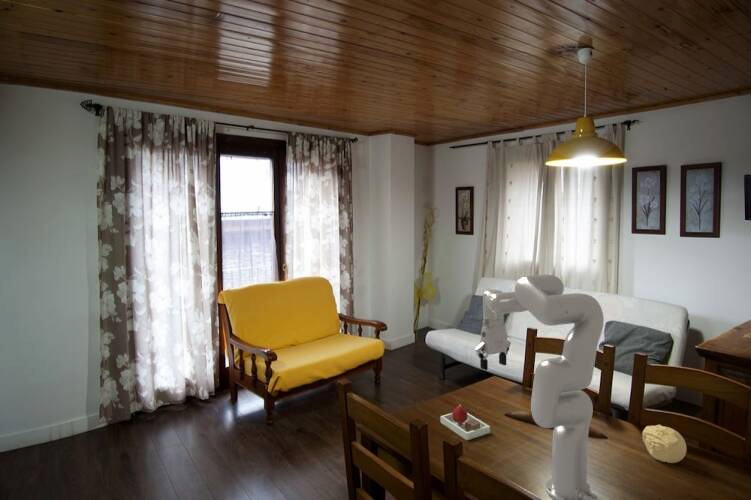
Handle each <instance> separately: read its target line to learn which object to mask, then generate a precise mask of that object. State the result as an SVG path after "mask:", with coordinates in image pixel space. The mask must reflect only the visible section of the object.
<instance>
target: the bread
mask: <svg viewBox="0 0 751 500" xmlns="http://www.w3.org/2000/svg"><path fill="white" fill-rule="evenodd" d="M504 416H506V417H509V418H511V419H515V420H518V421H522V422H525V423H530V424H535V425H538V424H537V423H536V422H535V421H534V419H533V416H532V412H531V411H527V410H526V411H525V410H515V411H509V412H508V413H507V412H505V414H504ZM552 429H554V427H553V428H552ZM588 437H595V438H600V439H608V436H607V435H605V434H604V433H602V432H601V431H599V430H598V429H596V428H595V427H592V426H591V425H590V426H589V432H588Z"/></svg>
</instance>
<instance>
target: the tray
mask: <svg viewBox="0 0 751 500" xmlns="http://www.w3.org/2000/svg"><path fill="white" fill-rule="evenodd" d="M452 413H453V412H451V413H447V414H444V415H440V417H439V418H440V423H441V424H442V425H443V426H445V427H447V428H448V429H450V430H451V431H453V432H454V433H456V434H457V435H458V436H460V437H461V438H463V439H464V440H466V441H469V440H472V439H474V438H478V437H481V436H484V435H488V434H491V426H490V425H489V424H487V423H485V422H483V421H482V420H481V419H478V418H476V417H475V416H473V415H472V414H470V413H469V412H467V416H468V417H467V420H466V421H468V420H470V419H473V420H476V421H478V422H480V428H479V429H476V430H472V431H469V432H466V431H465V422H464V423H462V424H461V425H459V424H458V423H457V422H455V421H454V419H453V417H452Z"/></svg>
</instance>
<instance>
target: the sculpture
mask: <svg viewBox="0 0 751 500" xmlns="http://www.w3.org/2000/svg"><path fill="white" fill-rule="evenodd" d="M642 442H643V443H644V445H645V447H646V450H647V452H648V453H649V455H650V456H651V457H653V458H654V459H655V460H657V461H659V462H662V463H665V462H667V463H666V464H676V463H678V462H680V461H681V462H682V460H683V459H684V458H685V456H686V454H687V444H686V441H685V438H684V437H683V435H681V433H679V432H678V431H677V430H675V429H673V428H671V427H668V426H663V425H662V424H656V425H647V426H646V427H645V428H644V429H643V430H642Z"/></svg>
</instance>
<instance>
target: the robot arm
mask: <svg viewBox="0 0 751 500" xmlns="http://www.w3.org/2000/svg"><path fill="white" fill-rule="evenodd" d="M564 291H565V285H564V282H563V280H562V279H561V278H559V277H558V276H556V275H554V274H534V275H533V274H532V275H524V276H522V277H520V278H519V279H518V280H517V281H516V282H515V286H514V291H508V292H507V291H505V292H503V291H502V290H500V289H487V290H484V291H483V292H482V321H481V325H482V327H481V332H480V344H479V345H478V346H476V347H475V349H474V350H475V352H476V356H478V358H479V359H480V361H479V362H480V364H479V366H480V369H481V370H485V371H488V369H489V367H488V364H489V363H488V359H487V358H488V357H489V355H496V354H498V363H499V365H501V366H507V355H508V352H509V350H510V347H511V343H512V342H511V341H509V340H508V334H507V333H508V332H507V329H506V325H504V323H505V321H504V319H505V318H504V317H505V316H504V315H505V314H513V313H523V312H527V311H528V312H529V313H530V314H531V315H532V316H533V317H534V318H535V319H536V320H537V321H538V322H540V323H541V324H542V325H544V326H552V327H553V326H562V325H570V324H573V325H574V326H573V327H572V328H571V329H570V330H569V332H568V333H567V335H566V337H565V339H564V342H563V349H562V353H561V355H560V356H559V357H553V358H547V359H543V360H542V361H541V362H539V364H537V366H536V368H535V372H534V376H533V384H532V391H531V400H530V410H531V411H530V412H532V416H533V419H534V421H535V422H536V423H537V424H536V425H538V427H541V428H544V429H553V431H552V443H551V445H552V447H551V448H552V449H551V450H552V451H551V452H552V453H551V456H552V457H551V478H550V479H549V480H547V482H546V484H545V489H546V492H547V494H548V495H549V496H550V497H551V499H553V500H598V495H597V494H595V493H594V492H592V491H591V489H590V488H591V484H590V483H589V482H587V481H588V480H587V478H588V475H587V474H588V451H589V450H588V448H589V447H588V446H589V436H588V432H589V426H590V427H591V422H592V418H593V411H594V410H593V409H594V407H593V406H594V405H593V402H592V399H591V398H590V396H589V394H588V393H586V392H585V391H583V390H584V389H587V388H588V387H590V385H591V383H592V379H593V376H594V375H593V374H594V369H595V364H596V357H597V351H598V344H599V342H600V339H601V335H602V332H603V329H604V320H605V319H604V312H603V309H602V307H601V305H600V303H599V301H598V300H597V299H596V298H595V297H593V296H592V295H589V294H587V293H579V292H577V293H564ZM563 293H564V294H563ZM553 427H554V428H553Z"/></svg>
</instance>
